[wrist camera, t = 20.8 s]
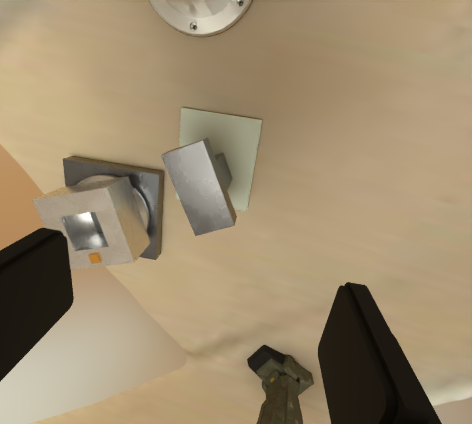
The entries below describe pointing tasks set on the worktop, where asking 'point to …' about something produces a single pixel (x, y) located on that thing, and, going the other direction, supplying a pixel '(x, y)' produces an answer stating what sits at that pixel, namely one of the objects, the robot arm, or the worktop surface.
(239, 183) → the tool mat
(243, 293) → the worktop surface
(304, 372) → the mechanical leg
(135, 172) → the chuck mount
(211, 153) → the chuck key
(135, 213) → the grey boxy piece
